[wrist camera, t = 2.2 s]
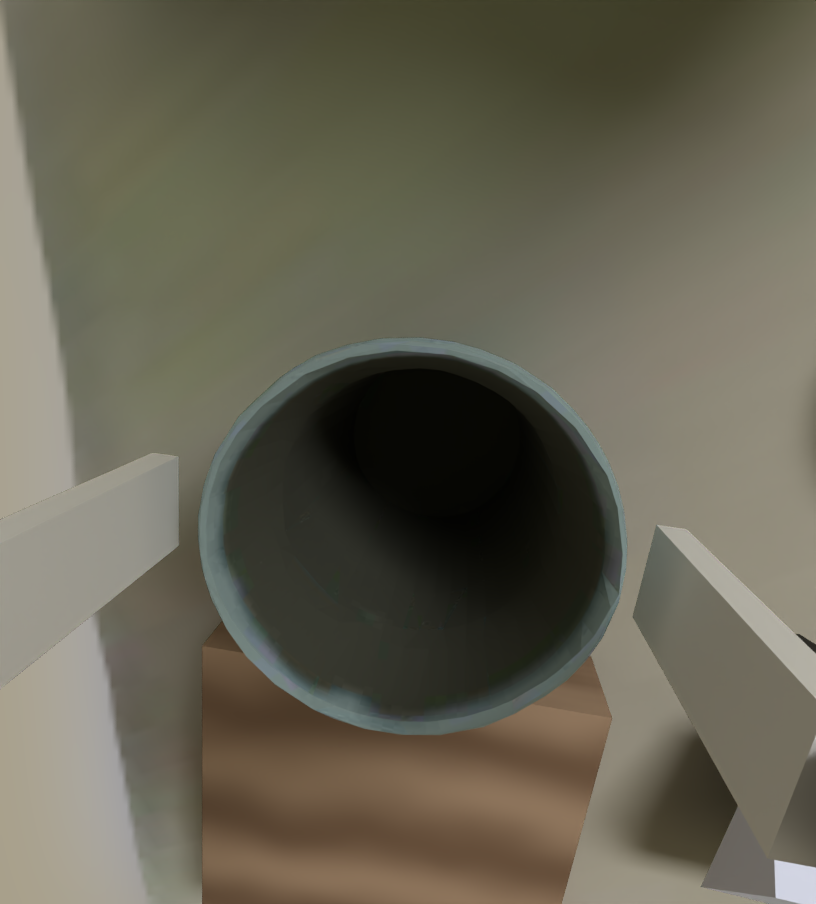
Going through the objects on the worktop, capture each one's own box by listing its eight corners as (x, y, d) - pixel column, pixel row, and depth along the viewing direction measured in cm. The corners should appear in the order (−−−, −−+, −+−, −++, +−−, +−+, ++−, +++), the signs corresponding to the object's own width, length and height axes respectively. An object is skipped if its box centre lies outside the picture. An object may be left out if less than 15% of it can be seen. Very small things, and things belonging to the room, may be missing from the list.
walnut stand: (240, 597, 27) (202, 646, 23) (590, 656, 26) (612, 718, 22) (234, 852, 32) (202, 926, 28) (527, 913, 31) (535, 1000, 27)
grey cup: (322, 525, 25) (200, 706, 14) (330, 312, 23) (185, 318, 11) (532, 551, 24) (587, 767, 13) (567, 332, 22) (676, 361, 10)
